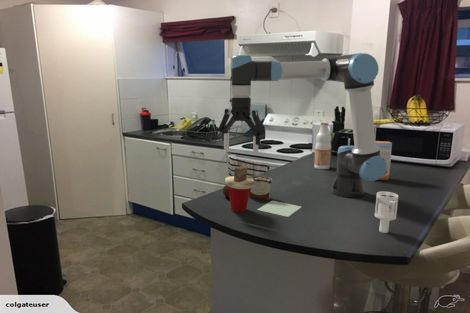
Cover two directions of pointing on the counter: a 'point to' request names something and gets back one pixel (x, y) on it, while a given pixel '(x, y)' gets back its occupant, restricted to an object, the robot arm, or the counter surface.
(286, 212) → the mat
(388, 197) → the white stepped cylinder
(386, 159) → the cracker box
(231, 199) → the plastic cup
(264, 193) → the food container
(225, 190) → the potato
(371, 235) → the counter surface
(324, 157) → the fruit juice
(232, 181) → the lid
